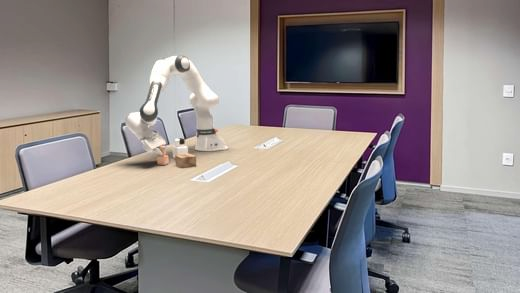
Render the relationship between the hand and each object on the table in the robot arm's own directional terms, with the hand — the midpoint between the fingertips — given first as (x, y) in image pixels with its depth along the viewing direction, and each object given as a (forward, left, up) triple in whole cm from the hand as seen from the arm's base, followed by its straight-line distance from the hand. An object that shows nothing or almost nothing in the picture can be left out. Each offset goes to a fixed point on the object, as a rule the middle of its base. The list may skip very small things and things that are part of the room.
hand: (163, 153), depth 264 cm
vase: (+1, 0, -6) cm, 6 cm away
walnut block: (-11, +8, -7) cm, 15 cm away
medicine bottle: (-12, -16, -7) cm, 21 cm away
